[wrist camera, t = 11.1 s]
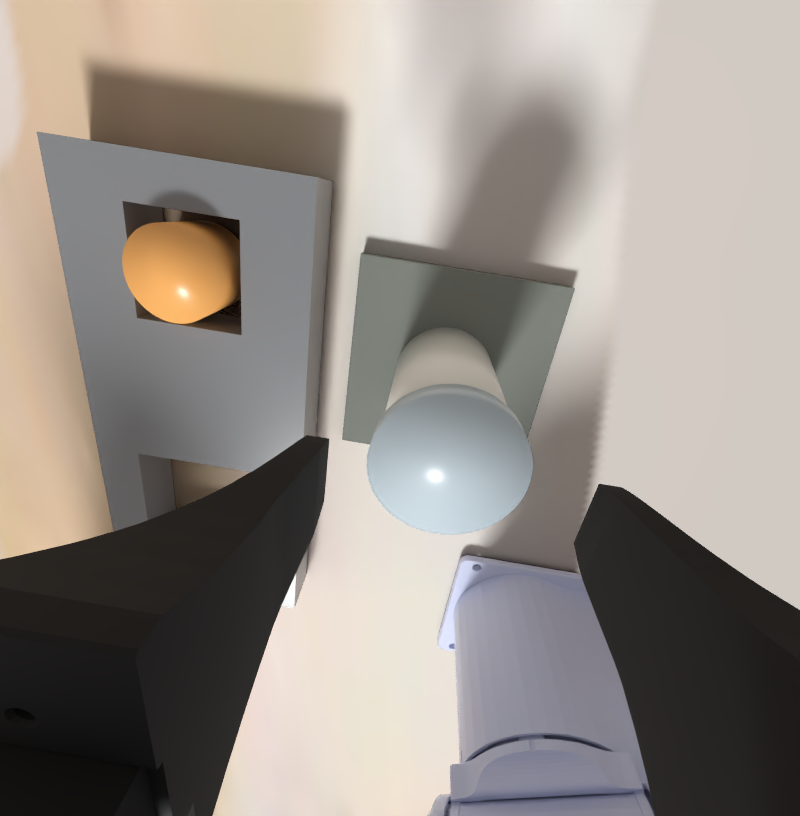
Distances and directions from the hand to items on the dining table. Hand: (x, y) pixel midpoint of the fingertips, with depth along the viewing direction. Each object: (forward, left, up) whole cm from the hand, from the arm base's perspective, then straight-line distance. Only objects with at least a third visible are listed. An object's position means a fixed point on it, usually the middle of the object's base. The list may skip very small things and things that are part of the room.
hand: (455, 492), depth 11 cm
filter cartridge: (0, 0, -9) cm, 9 cm away
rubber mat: (0, 0, -10) cm, 10 cm away
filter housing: (+11, +4, -10) cm, 15 cm away
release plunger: (+11, -3, -9) cm, 15 cm away
